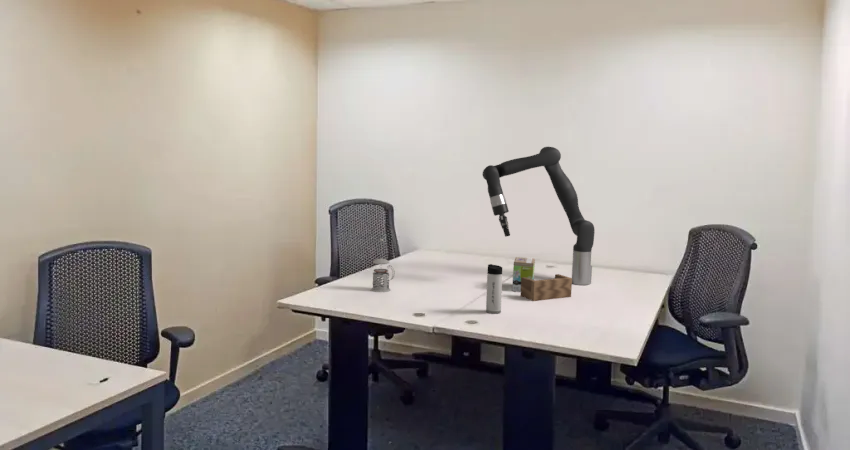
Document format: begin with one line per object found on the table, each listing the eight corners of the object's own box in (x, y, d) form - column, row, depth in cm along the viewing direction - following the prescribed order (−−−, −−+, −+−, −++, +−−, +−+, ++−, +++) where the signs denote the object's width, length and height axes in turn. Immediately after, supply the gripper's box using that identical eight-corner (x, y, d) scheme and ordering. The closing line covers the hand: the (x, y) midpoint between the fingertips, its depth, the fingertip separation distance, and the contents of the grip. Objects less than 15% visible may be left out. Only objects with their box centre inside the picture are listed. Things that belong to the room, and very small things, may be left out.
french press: (375, 287, 313) (376, 236, 310) (397, 289, 309) (398, 238, 306) (367, 291, 304) (367, 239, 300) (389, 293, 300) (390, 240, 297)
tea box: (532, 292, 308) (534, 262, 306) (511, 291, 310) (513, 261, 308) (533, 286, 323) (535, 257, 321) (513, 285, 325) (514, 256, 323)
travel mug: (492, 309, 275) (494, 263, 272) (503, 312, 270) (505, 265, 267) (482, 311, 271) (484, 264, 269) (493, 314, 266) (495, 267, 263)
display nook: (557, 292, 310) (558, 274, 309) (571, 296, 301) (572, 278, 300) (520, 296, 300) (521, 277, 299) (533, 301, 291) (534, 281, 290)
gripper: (505, 202, 310) (514, 234, 309) (507, 203, 324) (515, 234, 323) (490, 206, 311) (499, 238, 311) (492, 207, 325) (501, 237, 325)
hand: (507, 236), depth 317 cm, fingers open, 8 cm apart
